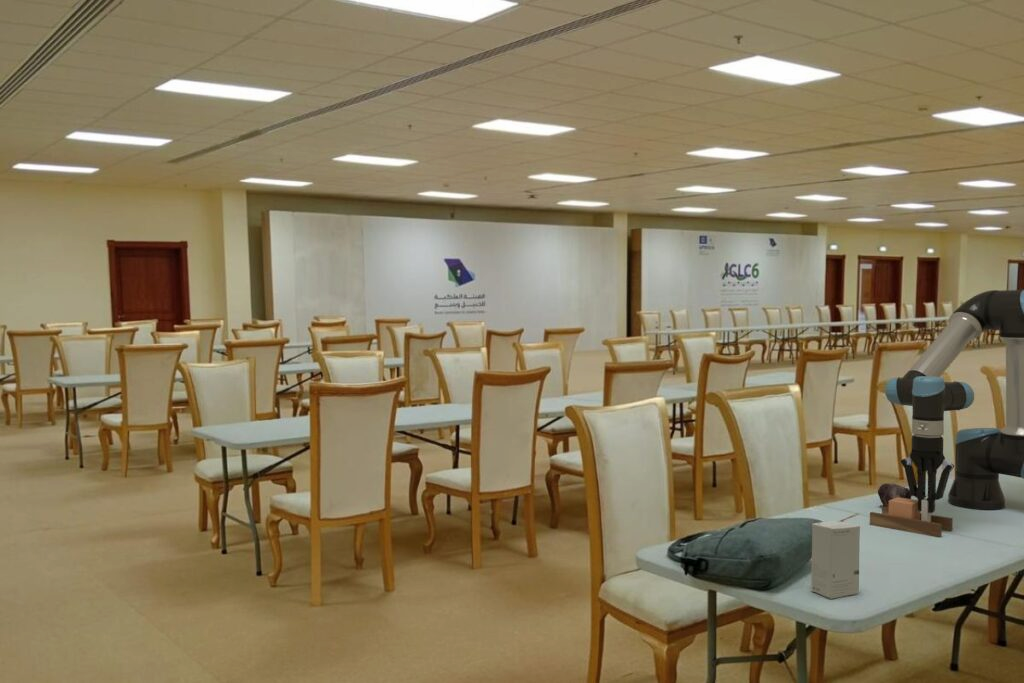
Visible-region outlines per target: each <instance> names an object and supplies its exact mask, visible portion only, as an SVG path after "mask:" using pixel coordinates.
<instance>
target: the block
mask: <svg viewBox="0 0 1024 683" xmlns="http://www.w3.org/2000/svg"><path fill="white" fill-rule="evenodd" d="M920 513H921V511H918V499H912V498H911V499H906V498H900V497H897V498H894V499H892V500H889V515H893V516H898V517H904V518H910V519H916V520H920Z"/></svg>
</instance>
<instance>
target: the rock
mask: <svg viewBox="0 0 1024 683" xmlns="http://www.w3.org/2000/svg"><path fill="white" fill-rule="evenodd" d="M877 495H878V497H879V499H880V502H881V504H882V506H883V507H888V508H889V500H892V499H894V498H897V497H900V498H906V499H912V497H913V496H911V494H910V490H909V487H904V486H901V485H898V484H895V483H889V482H888V483H883V484H881V485H880V486H879V487H878V490H877Z"/></svg>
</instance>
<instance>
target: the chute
mask: <svg viewBox="0 0 1024 683" xmlns="http://www.w3.org/2000/svg"><path fill="white" fill-rule="evenodd" d="M858 515H859V513H854V514H852V515H850V516H847V517H846V518H843V519H840V520H839V521H844V522H845V521H847V520H848V519H851V518H853V517H856V516H858ZM953 520H954V519H953V517H947V516H941V515H935V514H931V522H927V521H922V520H921V512H920V520H916V519H910V518H904V517H898V516H893V515H889V508H888V507H884V506H883V507H881V512H873V511H871V512H869V526H874V527H880V528H885V529H890V530H896V531H901V532H906V533H910V534H911V533H912V534H917V535H923V536H928V537H935V538H940V539H941V537H942V531H945V532H953V530H954V529H953V528H954V527H953V523H954V521H953Z"/></svg>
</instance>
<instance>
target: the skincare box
mask: <svg viewBox="0 0 1024 683" xmlns="http://www.w3.org/2000/svg"><path fill="white" fill-rule="evenodd" d="M811 527H812V529H811V530H812V531H811V536H812V537H811V577H810V578H811V583H810V584H811V592H813V593H816V594H819V595H820V596H823V597H825V598H826V599H830V600H832V599H833V600H834V599H837V598H841V597H842V598H843V597H848V596H853V595H859V593H860V591H859V590H860V540H861V539H860V537H861V535H860V533H861V530H860V528H861V526H860V525H858V524H855V523H851V522H847V521H845V520H844V521H840V520H833V521H821V522H815V523H812V525H811Z"/></svg>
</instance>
